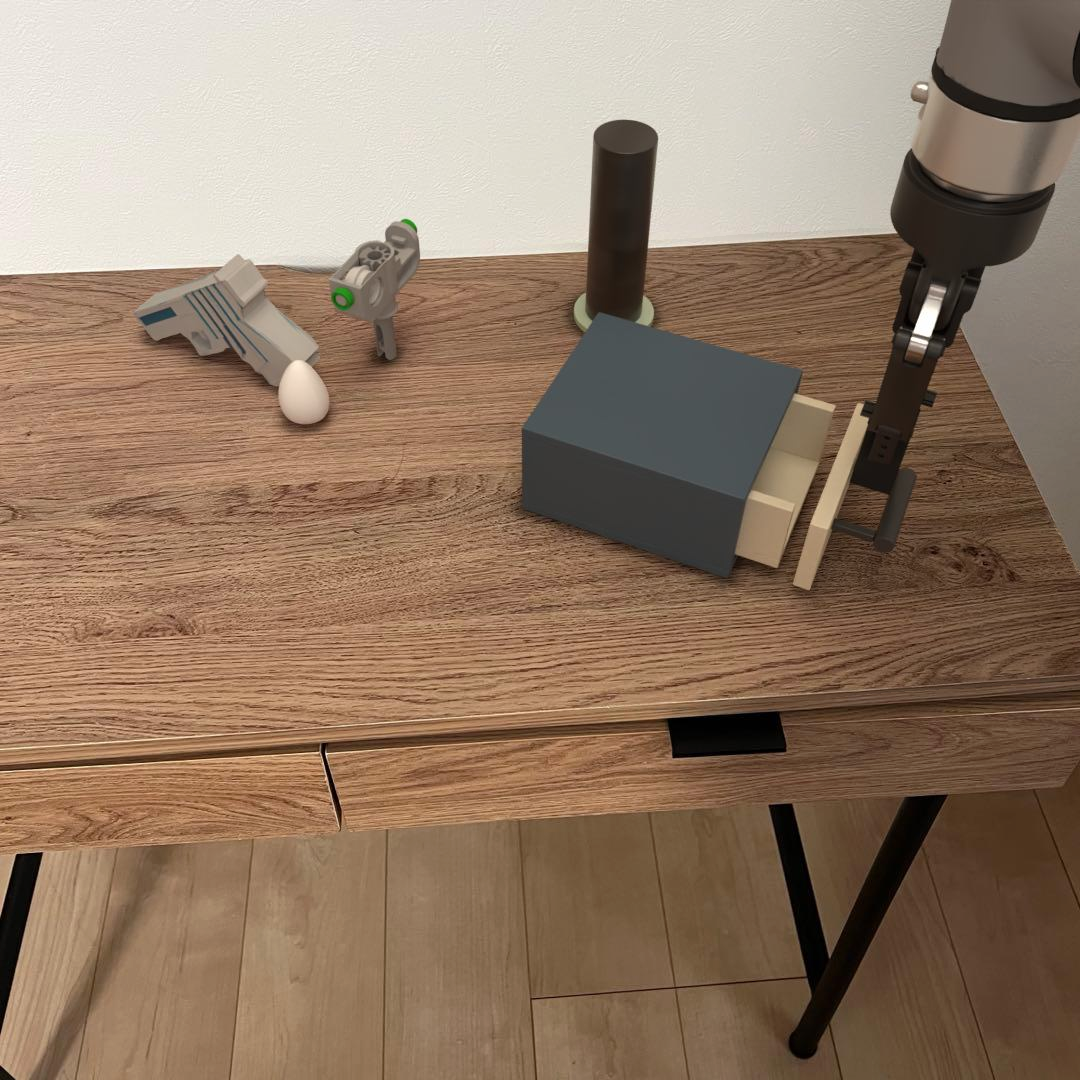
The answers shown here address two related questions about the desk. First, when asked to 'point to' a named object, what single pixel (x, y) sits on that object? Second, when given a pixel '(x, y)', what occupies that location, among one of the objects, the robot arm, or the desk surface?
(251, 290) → the toy gun
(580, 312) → the coaster
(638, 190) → the dark brown cylinder
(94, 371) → the desk surface
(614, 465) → the cabinet
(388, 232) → the mechanical component
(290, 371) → the egg
